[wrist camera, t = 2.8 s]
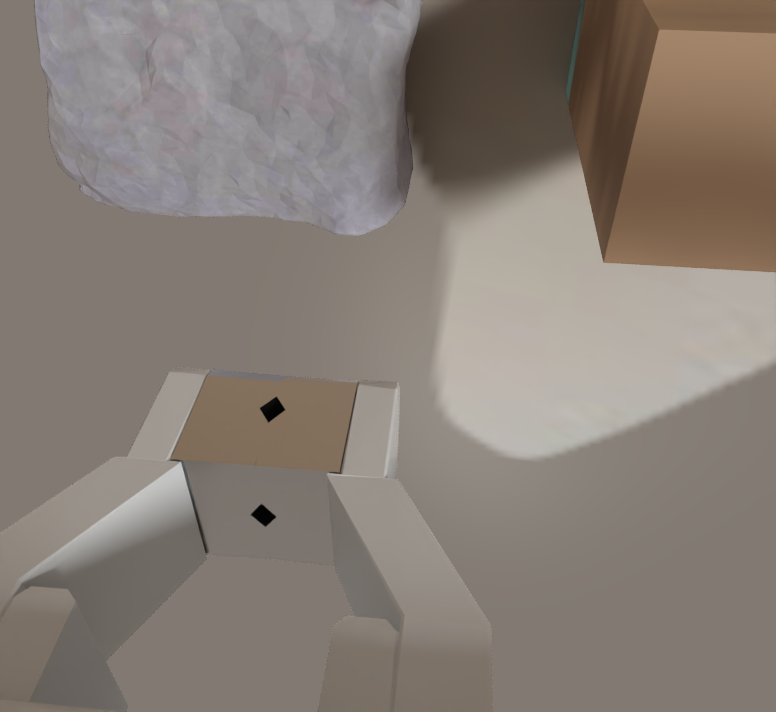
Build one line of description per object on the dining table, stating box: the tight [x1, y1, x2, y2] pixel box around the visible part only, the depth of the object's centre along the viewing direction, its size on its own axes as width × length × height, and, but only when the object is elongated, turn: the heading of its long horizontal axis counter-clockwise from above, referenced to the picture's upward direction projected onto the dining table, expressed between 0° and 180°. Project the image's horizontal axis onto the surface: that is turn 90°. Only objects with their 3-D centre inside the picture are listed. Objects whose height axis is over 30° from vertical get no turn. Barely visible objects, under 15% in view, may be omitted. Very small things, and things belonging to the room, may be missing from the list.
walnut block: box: [566, 0, 776, 272], centre depth 18 cm, size 5×5×10 cm
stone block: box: [34, 0, 422, 235], centre depth 23 cm, size 12×5×10 cm
